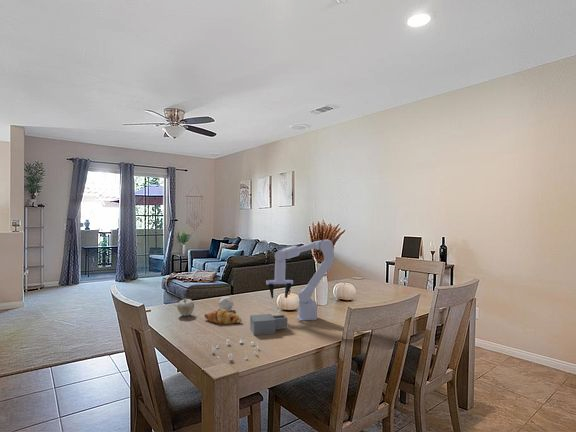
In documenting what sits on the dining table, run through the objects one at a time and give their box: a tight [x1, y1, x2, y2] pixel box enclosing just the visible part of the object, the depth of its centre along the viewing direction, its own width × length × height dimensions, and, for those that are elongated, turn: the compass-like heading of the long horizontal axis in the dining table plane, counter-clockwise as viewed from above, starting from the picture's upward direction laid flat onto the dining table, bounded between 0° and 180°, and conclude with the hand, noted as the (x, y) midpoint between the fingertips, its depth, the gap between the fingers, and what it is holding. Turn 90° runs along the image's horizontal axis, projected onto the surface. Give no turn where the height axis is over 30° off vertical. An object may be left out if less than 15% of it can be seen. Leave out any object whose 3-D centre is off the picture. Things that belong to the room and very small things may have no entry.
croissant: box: [204, 308, 243, 325], centre depth 179 cm, size 21×10×8 cm, turn 74°
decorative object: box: [177, 297, 195, 317], centre depth 189 cm, size 9×9×10 cm
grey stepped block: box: [249, 313, 288, 336], centre depth 166 cm, size 16×10×6 cm, turn 106°
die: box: [217, 296, 235, 312], centre depth 199 cm, size 8×9×10 cm
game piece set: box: [210, 337, 260, 362], centre depth 140 cm, size 19×20×4 cm
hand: (279, 297), depth 187 cm, fingers open, 7 cm apart
